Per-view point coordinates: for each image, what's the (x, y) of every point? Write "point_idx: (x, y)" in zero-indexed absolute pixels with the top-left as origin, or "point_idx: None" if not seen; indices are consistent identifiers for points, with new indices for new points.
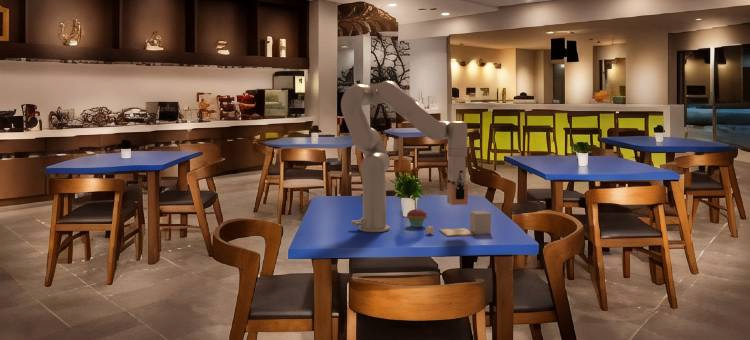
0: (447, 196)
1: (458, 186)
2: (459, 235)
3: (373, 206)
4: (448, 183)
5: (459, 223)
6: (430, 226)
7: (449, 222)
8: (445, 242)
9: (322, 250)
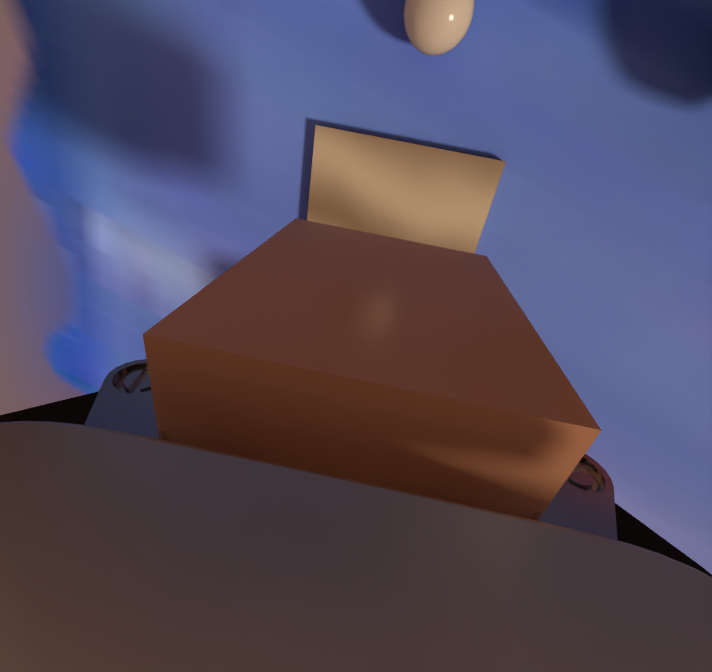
0: (489, 280)
1: (104, 405)
2: (308, 212)
3: None
4: (471, 399)
5: (614, 382)
6: (432, 6)
7: (684, 351)
8: (151, 16)
9: None
